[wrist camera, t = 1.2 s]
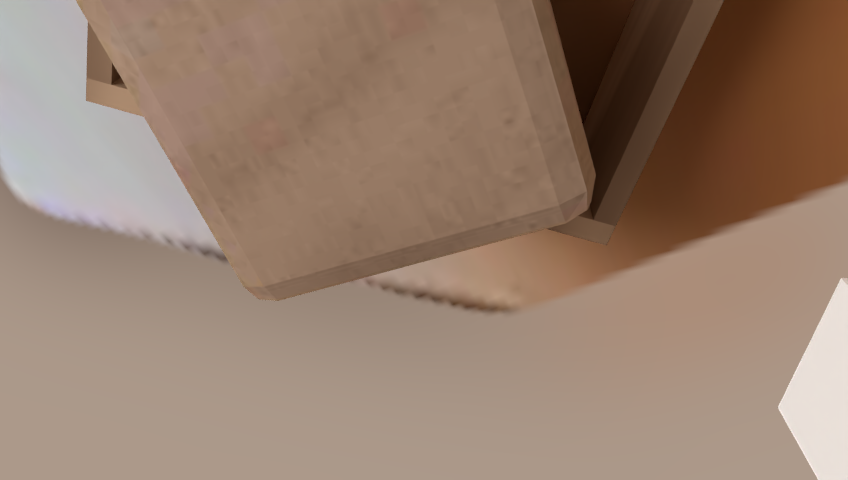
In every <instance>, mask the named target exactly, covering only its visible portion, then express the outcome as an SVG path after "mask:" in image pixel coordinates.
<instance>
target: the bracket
mask: <svg viewBox="0 0 848 480" xmlns="http://www.w3.org/2000/svg"><path fill="white" fill-rule="evenodd" d="M723 1H724V0H635V2H634V4H633V7H632V9H631V12H630V14H629V16H628V19H627V21H626V24H625V26H624V28H623V31H622V33H621V36H620V38H619V40H618V43H617V45H616V48H615V50H614V52H613V55H612V57H611V60H610V62H609V65H608V67H607V69H606V72H605V74H604V77H603V79H602V81H601V84H600V86H599V89H598V91H597V93H596V96H595V98H594V101H593V103H592V105H591V108H590V110H589V113H588V115H587V117H586V120H585V122H584V125H583V128H584V131H585V135H586V139H587V143H588V147H589V150H590V154H591V158H592V162H593V166H594V169H595V173H596V177H595V182H594V188H593V194H592V199H591V203H590V205H589V207H588V209H587V210H586V211H585V212H583V213H582V214H580V215H578V216H577V217H575V218H574V219H572V220H570V221H569V222H567V223H565V224H561V225H558V226H554V227H550V228H547V229H549V230H553V231H556V232H560V233H564V234H567V235H571V236H574V237H578V238H581V239H585V240H589V241H592V242H596V243H599V244H603V245H607V243H608V241H609V239H610V237H611V235H612V233H613V231H614V229H615V227H616V225H617V222H618V220H619V218H620V216H621V214H622V212H623V210H624V208H625V206H626V204H627V202H628V200H629V197H630V195H631V193H632V191H633V189H634V187H635V185H636V183H637V181H638V179H639V177H640V175H641V172H642V170H643V168H644V166H645V164H646V162H647V160H648V158H649V156H650V154H651V152H652V149H653V147H654V145H655V143H656V141H657V139H658V137H659V135H660V133H661V131H662V129H663V127H664V124H665V122H666V120H667V118H668V116H669V114H670V112H671V110H672V108H673V106H674V104H675V101H676V99H677V97H678V95H679V93H680V91H681V89H682V87H683V85H684V83H685V81H686V79H687V76H688V74H689V72H690V70H691V68H692V66H693V64H694V62H695V60H696V58H697V56H698V53H699V51H700V49H701V47H702V45H703V43H704V41H705V39H706V37H707V35H708V33H709V31H710V28H711V26H712V24H713V22H714V20H715V18H716V16H717V14H718V12H719V10H720V8H721V6H722V3H723ZM86 101H89V102H93V103H97V104H100V105H104V106H107V107H111V108H115V109H118V110H122V111H125V112H129V113H133V114H136V115H140V116H143V114H142V112H141V111H140V109H139V107H138V106H137V104H136V102H135V101H134V99H133V97H132V95H131V94H130V92H129V90H128V89H127V87H126V85H125V83H124V82H123V80H122V78H121V77H120V75H119V73H118V72H117V70H116V68H115V66H114V65H113V63H112V61H111V60H110V58H109V56H108V54H107V53H106V51H105V49H104V48H103V46H102V44H101V43H100V41H99V39H98V37H97V36H96V34H95V32H94V31H93V29H92V27H91V25H90V24H89V22H88V41H87V83H86ZM143 117H144V116H143Z"/></svg>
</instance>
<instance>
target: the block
mask: <svg viewBox="0 0 848 480" xmlns="http://www.w3.org/2000/svg"><path fill="white" fill-rule="evenodd" d="M76 1H77V3H78V5H79V7H80V8H81V10H82V12H83V14H84V15H85V17H86V19H87V20H88V22H89V24H90V25H91V27H92V29H93V31H94V32H95V34H96V36H97V37H98V39H99V41H100V43H101V44H102V46H103V48H104V49H105V51H106V53H107V54H108V56H109V58H110V60H111V61H112V63H113V65H114V66H115V68H116V70H117V72H118V73H119V75H120V77H121V78H122V80H123V82H124V83H125V85H126V87H127V89H128V90H129V92H130V94H131V95H132V97H133V99H134V101H135V102H136V104H137V106H138V107H139V109H140V111H141V112H142V114H143V116H144V118H145V119H146V121H147V123H148V124H149V126H150V128H151V130H152V131H153V133H154V135H155V136H156V138H157V140H158V141H159V143H160V145H161V147H162V148H163V150H164V152H165V153H166V155H167V157H168V159H169V160H170V162H171V164H172V165H173V167H174V169H175V170H176V172H177V174H178V176H179V177H180V179H181V181H182V182H183V184H184V186H185V188H186V189H187V191H188V193H189V194H190V196H191V198H192V199H193V201H194V203H195V205H196V206H197V208H198V210H199V211H200V213H201V215H202V217H203V218H204V220H205V222H206V223H207V225H208V227H209V228H210V230H211V232H212V234H213V235H214V237H215V239H216V240H217V242H218V244H219V246H220V247H221V249H222V251H223V252H224V254H225V256H226V257H227V259H228V261H229V263H230V264H231V266H232V268H233V269H234V271H235V273H236V274H237V276H238V278H239V280H240V281H241V283H242V285H243V286H244V287H245V288H246V289H247V290H248V291H249V292H251V293H252V294H253V295H254V296H256V297H257V298H258V299H262V300H275V301H279V300H282V299H286V298H290V297H294V296H297V295H301V294H305V293H308V292H312V291H316V290H320V289H323V288H327V287H331V286H335V285H338V284H342V283H346V282H350V281H353V280H357V279H361V278H364V277H368V276H372V275H376V274H379V273H383V272H387V271H390V270H394V269H398V268H402V267H405V266H409V265H413V264H416V263H420V262H424V261H428V260H431V259H435V258H439V257H442V256H446V255H450V254H454V253H457V252H461V251H465V250H469V249H472V248H476V247H480V246H483V245H487V244H491V243H495V242H498V241H502V240H506V239H509V238H513V237H517V236H521V235H524V234H528V233H532V232H535V231H539V230H543V229H547V228H550V227H554V226H558V225H561V224H565V223H567V222H569V221H570V220H572V219H574V218H575V217H577V216H578V215H580V214H582V213H583V212H585V211H586V210H587V209H588V207H589V205H590V203H591V199H592V194H593V188H594V182H595V177H596V173H595V169H594V166H593V162H592V158H591V154H590V150H589V147H588V143H587V139H586V135H585V131H584V128H583V124H582V120H581V116H580V112H579V109H578V105H577V101H576V97H575V93H574V89H573V86H572V82H571V78H570V74H569V70H568V67H567V63H566V59H565V55H564V51H563V48H562V44H561V40H560V36H559V32H558V29H557V25H556V21H555V17H554V13H553V9H552V6H551V2H550V0H76Z"/></svg>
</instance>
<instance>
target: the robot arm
mask: <svg viewBox="0 0 848 480" xmlns="http://www.w3.org/2000/svg"><path fill="white" fill-rule="evenodd" d="M778 409H779V411H780V412H781V414H782V416H783V417H784V420H785V421H786V423H787V425H788V427H789V428H790V430H791V432H792V434H793V436H794V438H795V439H796V441H797V443H798V445H799V446H800V448H801V450H802V452H803V454H804V455H805V457H806V459H807V461H808V462H809V464H810V466H811V468H812V470H813V471H814V473H815V475H816V477H817V479H818V480H848V278H841V279H840V281H839V284H838V285H837V288H836V290H835V292H834V294H833V296H832V298H831V300H830V302H829V304H828V306H827V308H826V310H825V312H824V314H823V317H822V318H821V320H820V322H819V324H818V326H817V328H816V331H815V333H814V335H813V337H812V339H811V341H810V343H809V345H808V347H807V349H806V351H805V353H804V355H803V357H802V359H801V361H800V364H799V365H798V368H797V369H796V371H795V373H794V376H793V378H792V380H791V382H790V384H789V386H788V388H787V390H786V392H785V394H784V396H783V398H782V400H781V402H780V404H779V406H778Z"/></svg>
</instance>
